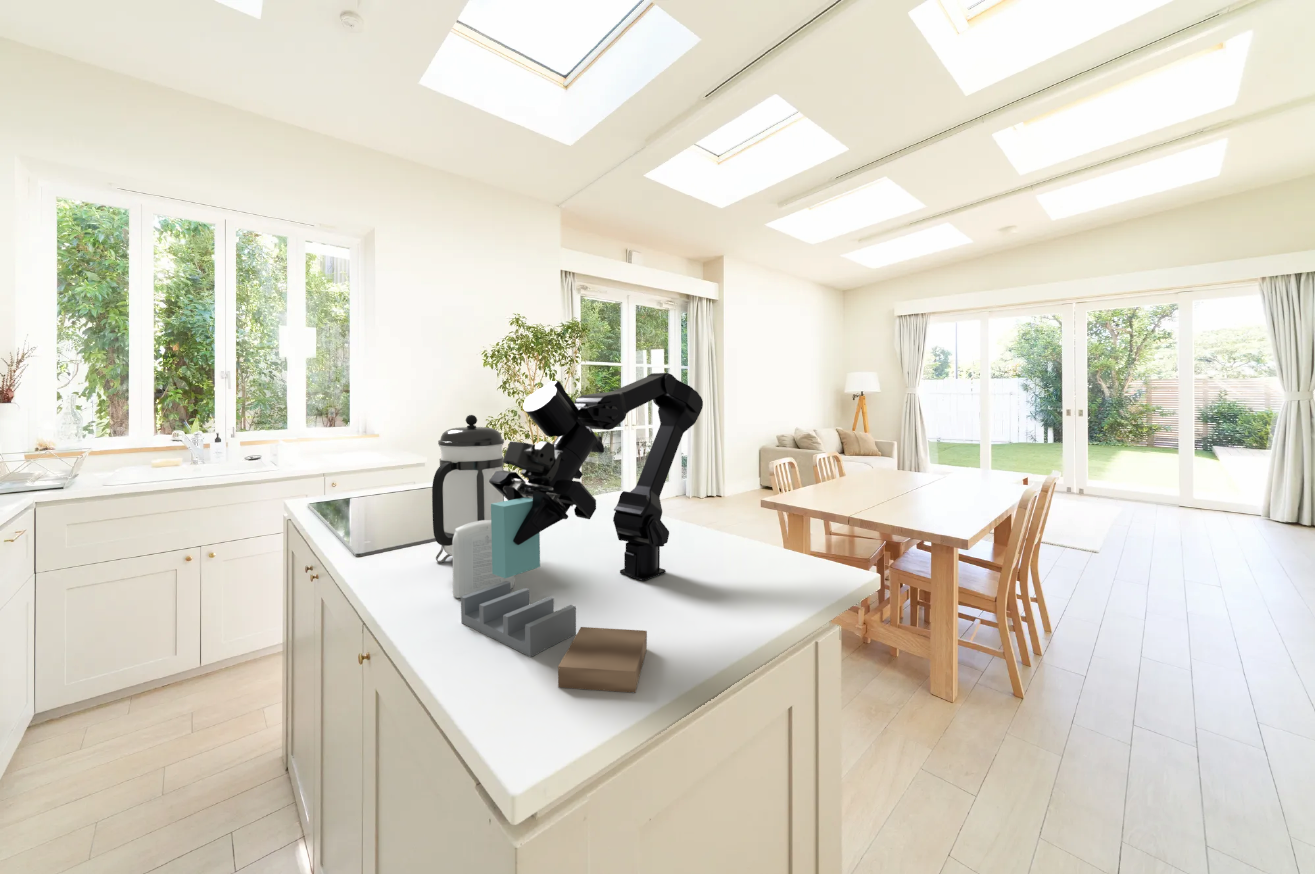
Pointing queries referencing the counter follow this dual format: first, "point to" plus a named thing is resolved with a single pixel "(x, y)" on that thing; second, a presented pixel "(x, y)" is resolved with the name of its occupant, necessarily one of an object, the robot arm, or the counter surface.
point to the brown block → (603, 660)
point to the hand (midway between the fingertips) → (508, 541)
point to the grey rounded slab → (474, 559)
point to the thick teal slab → (504, 528)
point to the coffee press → (465, 480)
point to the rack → (517, 618)
